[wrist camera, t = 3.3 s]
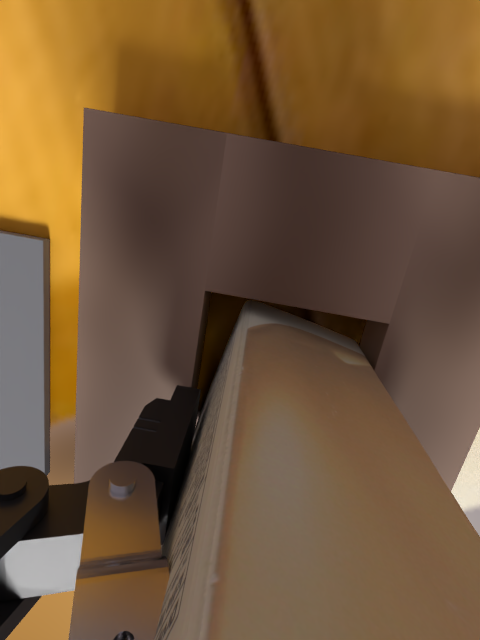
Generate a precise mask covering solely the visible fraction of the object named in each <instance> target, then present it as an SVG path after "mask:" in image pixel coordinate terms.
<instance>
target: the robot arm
mask: <svg viewBox="0 0 480 640" xmlns="http://www.w3.org/2000/svg"><path fill="white" fill-rule="evenodd" d="M200 392H201V389H197V388H191V387H186V386H180V385H177V386H176V388H175V391H174V393H173V395H172V397H171V400H166V399H160V398H156V399H154V400H153V401H151V402H150V403H148V404H147V405H145V406H144V408H143V410H142V412H141V414H140V415H139V418H138V419H137V421H136V423H135V424H134V427H133V428H132V430H131V432H130V433H129V435H128V437H127V439H126V441H125V442H124V444H123V446H122V448H121V450H120V451H119V453H118V455H117V457H116V459H115V460H114V462H113V463H110V464H107V465H105V466H103V467H102V468H100V469H99V470H98V471H96V472H95V473H94V475H93V476H92V478H91V480H89V481H86V482H82V483H75V484H63V485H50V486H49V483H48V478H47V476H46V475H45V473H43V472H42V471H41V470H39V469H37V468H34V467H30V466H13V467H8V468H4V469H1V470H0V640H5V639H6V638H7V637H8V636H9V635H10V633H11V632H12V631H13V629H15V627H16V626H17V625H18V624H19V622H20V621H21V620H22V619H23V618H24V617H25V615H26V614H27V613H28V612H29V611H30V609H31V608H32V607H33V606H34V605H35V603H36V602H37V601H38V600H39V598H40V597H41V596H42V595H47V594H54V593H60V592H67V591H73V590H75V592H74V599H73V608H72V617H71V624H70V633H69V640H154V639H155V634H156V630H157V626H158V622H159V618H160V614H161V610H162V605H163V601H164V597H165V593H166V589H167V585H168V581H169V576H170V575H169V567H168V561H167V558H166V556H162V552H161V545H162V546H163V543H164V540H165V537H166V533H167V530H168V526H169V523H170V520H171V516H172V513H173V510H174V506H175V503H176V500H177V496H178V493H179V490H180V486H181V483H182V480H183V476H184V473H185V469H186V465H187V462H188V458H189V455H190V451H191V447H192V443H193V438H194V432H195V426H196V419H197V413H198V406H199V400H200Z"/></svg>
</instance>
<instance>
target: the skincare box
mask: <svg viewBox="0 0 480 640" xmlns="http://www.w3.org/2000/svg"><path fill="white" fill-rule="evenodd" d="M161 552H162V556H166V558H167V561H168V567H169V575H170V576H169V581H168V585H167V589H166V593H165V597H164V601H163V605H162V610H161V614H160V618H159V622H158V626H157V630H156V634H155V639H154V640H480V537H479V535H478V533H477V532H476V530H475V529H474V528H473V526H472V524H471V523H470V522H469V520H468V518H467V517H466V515H465V514H464V512H463V510H462V509H461V507H460V506H459V504H458V502H457V501H456V499H455V498H454V496H453V494H452V493H451V491H450V490H449V488H448V487H447V485H446V483H445V482H444V480H443V479H442V477H441V476H440V474H439V472H438V471H437V469H436V467H435V466H434V464H433V463H432V461H431V459H430V458H429V456H428V454H427V453H426V451H425V450H424V448H423V447H422V445H421V443H420V442H419V440H418V439H417V437H416V436H415V434H414V432H413V431H412V429H411V428H410V426H409V425H408V423H407V421H406V420H405V418H404V417H403V415H402V413H401V412H400V410H399V409H398V407H397V406H396V404H395V403H394V401H393V400H392V398H391V396H390V395H389V393H388V392H387V390H386V389H385V387H384V386H383V384H382V382H381V381H380V379H379V378H378V376H377V374H376V373H375V371H374V370H373V368H372V366H371V365H370V363H369V362H368V360H367V358H366V357H365V355H364V353H363V352H362V350H361V349H360V347H359V346H358V344H357V342H356V341H355V340H353V339H351V338H349V337H346V336H344V335H342V334H339V333H337V332H335V331H332V330H330V329H327V328H325V327H323V326H320V325H318V324H315V323H313V322H310V321H308V320H305V319H303V318H300V317H298V316H295V315H292V314H290V313H287V312H285V311H282V310H279V309H277V308H274V307H272V306H269V305H266V304H264V303H261V302H258V301H255V300H248V301H246V302H245V303H244V305H243V307H242V309H241V312H240V314H239V316H238V319H237V321H236V323H235V326H234V328H233V330H232V333H231V335H230V337H229V340H228V342H227V345H226V347H225V350H224V352H223V355H222V357H221V360H220V362H219V365H218V367H217V370H216V373H215V375H214V378H213V381H212V383H211V386H210V388H209V391H208V394H207V397H206V399H205V402H204V405H203V408H202V410H201V413H200V416H199V419H198V422H197V425H196V428H195V432H194V438H193V443H192V447H191V451H190V455H189V458H188V462H187V465H186V469H185V473H184V476H183V480H182V483H181V486H180V490H179V493H178V496H177V500H176V503H175V506H174V510H173V513H172V516H171V520H170V523H169V526H168V530H167V533H166V537H165V540H164V543H163V546H162V545H161Z"/></svg>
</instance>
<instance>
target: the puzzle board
mask: <svg viewBox="0 0 480 640" xmlns="http://www.w3.org/2000/svg"><path fill="white" fill-rule="evenodd" d="M211 292H215V293H221V294H226V295H232V296H237V297H243V298H249V299H254V300H260V301H265V302H271V303H276V304H282V305H287V306H293V307H299V308H304V309H310V310H315V311H321V312H326V313H332V314H337V315H343V316H349V317H354V318H360V319H365V320H367V321H366V325H365V328H364V331H363V335H362V338H361V341H360V345H359V347H360V349H361V350H362V352H363V353H364V355H365V357H366V358H367V360H368V362H369V363H370V365H371V366H372V368H373V370H374V371H375V373H376V374H377V376H378V378H379V379H380V381H381V382H382V384H383V386H384V387H385V389H386V390H387V392H388V393H389V395H390V396H391V398H392V400H393V401H394V403H395V404H396V406H397V407H398V409H399V410H400V412H401V413H402V415H403V417H404V418H405V420H406V421H407V423H408V425H409V426H410V428H411V429H412V431H413V432H414V434H415V436H416V437H417V439H418V440H419V442H420V443H421V445H422V447H423V448H424V450H425V451H426V453H427V454H428V456H429V458H430V459H431V461H432V463H433V464H434V466H435V467H436V469H437V471H438V472H439V474H440V476H441V477H442V479H443V480H444V482H445V483H446V485H447V487H448V488H449V490H450V491H451V490H452V488H453V485H454V483H455V481H456V479H457V477H458V474H459V472H460V470H461V468H462V465H463V463H464V461H465V459H466V456H467V454H468V452H469V450H470V447H471V445H472V443H473V441H474V439H475V436H476V434H477V432H478V430H479V427H480V178H479V177H473V176H467V175H462V174H456V173H450V172H445V171H439V170H433V169H428V168H422V167H416V166H411V165H405V164H400V163H394V162H388V161H383V160H377V159H371V158H366V157H360V156H354V155H349V154H343V153H337V152H332V151H326V150H320V149H315V148H309V147H304V146H298V145H292V144H287V143H281V142H275V141H270V140H264V139H258V138H253V137H247V136H241V135H236V134H230V133H224V132H219V131H213V130H208V129H202V128H196V127H191V126H185V125H179V124H174V123H168V122H162V121H157V120H151V119H145V118H140V117H134V116H129V115H123V114H117V113H112V112H106V111H100V110H95V109H89V108H84V126H83V164H82V202H81V240H80V278H79V316H78V355H77V393H76V433H75V470H74V484H75V483H82V482H86V481H89V480H91V478H92V476H93V475H94V473H95V472H96V471H98V470H99V469H100V468H102V467H103V466H105V465H107V464H110V463H113V462H114V460H115V459H116V457H117V455H118V453H119V451H120V450H121V448H122V446H123V444H124V442H125V441H126V439H127V437H128V435H129V433H130V432H131V430H132V428H133V427H134V424H135V423H136V421H137V419H138V418H139V415H140V414H141V412H142V410H143V408H144V406H145V405H147V404H148V403H150V402H151V401H153V400H154V399H156V398H160V399H166V400H171V397H172V395H173V393H174V391H175V388H176V386H177V385H180V386H186V387H191V388H197V386H198V379H199V372H200V366H201V359H202V352H203V345H204V338H205V332H206V325H207V318H208V311H209V304H210V298H211Z"/></svg>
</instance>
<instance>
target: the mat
mask: <svg viewBox="0 0 480 640" xmlns="http://www.w3.org/2000/svg"><path fill="white" fill-rule="evenodd" d="M13 466H30V467H34V468H37V469H39V470H41V471H42V472H43V473H45V475H46V476H47V475H48V473H49V472H50V239H46V238H40V237H35V236H29V235H24V234H18V233H13V232H7V231H1V230H0V470H1V469H4V468H8V467H13Z"/></svg>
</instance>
